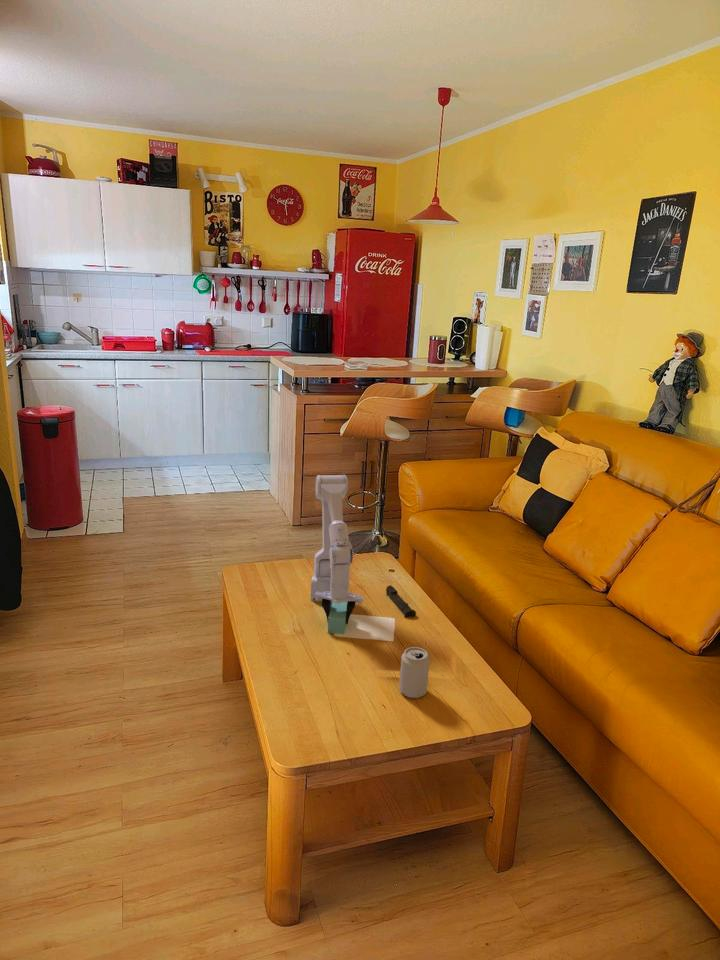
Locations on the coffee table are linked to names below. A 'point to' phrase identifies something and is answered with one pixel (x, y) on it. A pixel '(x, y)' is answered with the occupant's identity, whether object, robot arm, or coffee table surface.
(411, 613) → the hand tool
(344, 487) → the robot arm
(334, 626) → the block
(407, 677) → the can
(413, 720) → the coffee table surface
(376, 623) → the board
